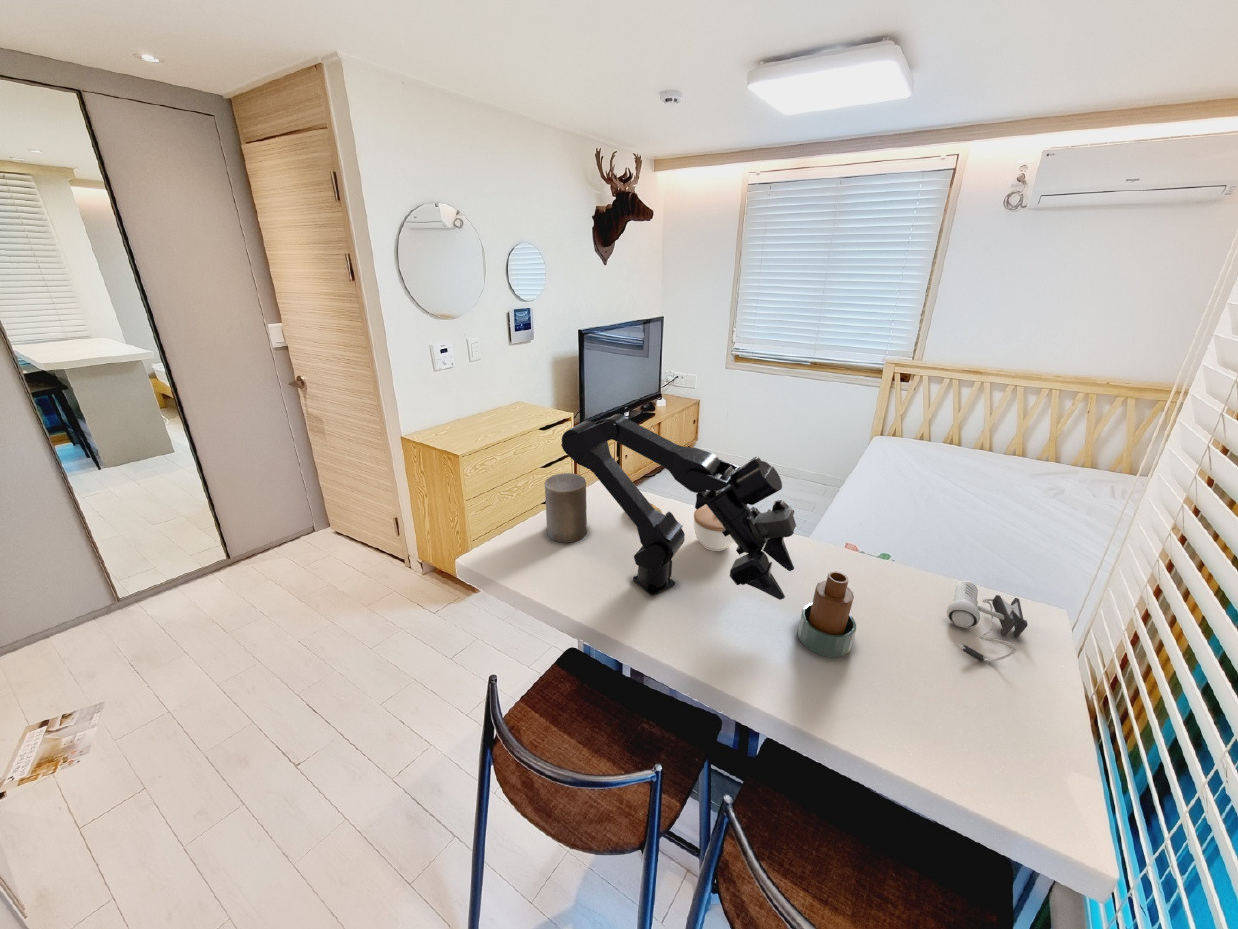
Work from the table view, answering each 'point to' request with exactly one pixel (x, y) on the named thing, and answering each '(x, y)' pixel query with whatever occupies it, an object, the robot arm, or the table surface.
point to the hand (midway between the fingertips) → (787, 583)
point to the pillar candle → (566, 507)
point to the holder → (825, 637)
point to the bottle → (831, 604)
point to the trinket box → (710, 530)
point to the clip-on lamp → (968, 614)
